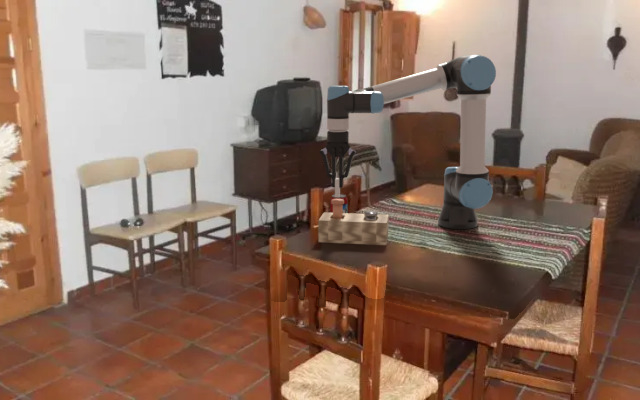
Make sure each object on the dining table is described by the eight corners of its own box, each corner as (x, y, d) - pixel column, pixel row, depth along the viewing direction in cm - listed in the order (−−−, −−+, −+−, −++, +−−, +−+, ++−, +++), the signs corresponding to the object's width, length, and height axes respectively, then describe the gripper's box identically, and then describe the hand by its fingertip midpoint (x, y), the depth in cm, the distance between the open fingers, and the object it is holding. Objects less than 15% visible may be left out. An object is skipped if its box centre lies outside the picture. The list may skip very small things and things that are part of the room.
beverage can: (346, 227, 234) (346, 197, 231) (328, 227, 235) (328, 196, 232) (348, 223, 240) (348, 193, 238) (332, 222, 242) (332, 193, 239)
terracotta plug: (344, 220, 221) (344, 198, 219) (343, 224, 216) (343, 201, 214) (332, 220, 221) (332, 198, 220) (330, 223, 217) (330, 201, 215)
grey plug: (377, 233, 219) (377, 211, 218) (376, 236, 215) (376, 214, 213) (364, 232, 220) (365, 210, 218) (363, 236, 216) (363, 213, 214)
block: (388, 235, 223) (388, 214, 221) (386, 245, 211) (386, 223, 210) (323, 233, 227) (323, 212, 225) (318, 242, 215) (318, 220, 214)
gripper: (357, 129, 214) (356, 194, 219) (321, 129, 216) (321, 193, 221) (355, 132, 207) (354, 199, 212) (317, 131, 209) (317, 198, 214)
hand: (337, 196), depth 217 cm, fingers closed
